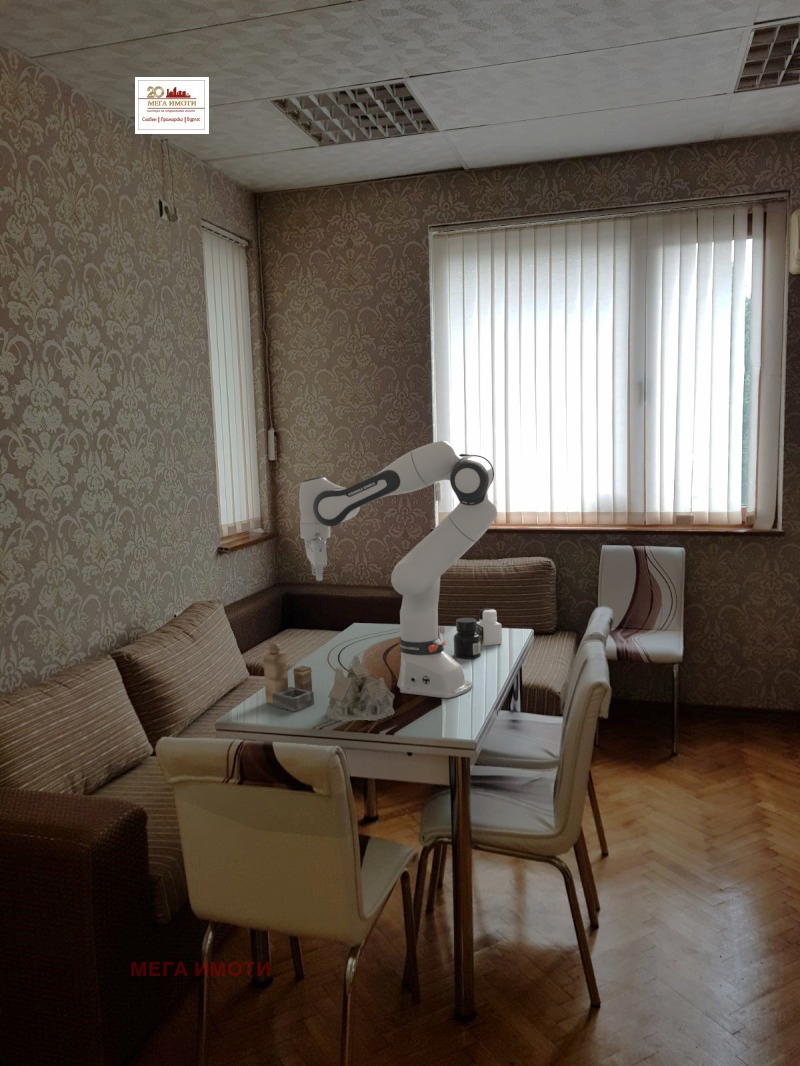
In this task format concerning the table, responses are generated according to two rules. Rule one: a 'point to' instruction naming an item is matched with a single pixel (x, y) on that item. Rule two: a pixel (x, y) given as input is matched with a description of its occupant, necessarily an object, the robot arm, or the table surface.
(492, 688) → the table surface
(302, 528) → the robot arm
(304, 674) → the small wooden block
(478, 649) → the ink bottle
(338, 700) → the ceramic cottage
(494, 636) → the medicine bottle
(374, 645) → the table surface
